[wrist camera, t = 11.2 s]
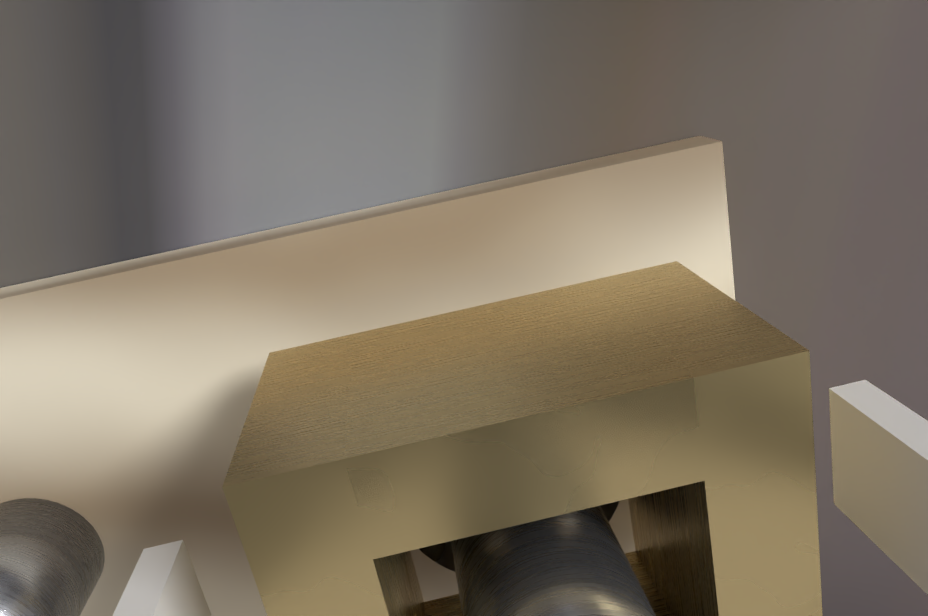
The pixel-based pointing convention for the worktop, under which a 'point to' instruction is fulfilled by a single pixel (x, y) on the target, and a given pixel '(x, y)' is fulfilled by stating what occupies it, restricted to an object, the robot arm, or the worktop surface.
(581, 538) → the tall steel post
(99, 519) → the birch board
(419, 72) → the worktop surface
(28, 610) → the short steel post
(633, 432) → the brass collar
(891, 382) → the worktop surface
